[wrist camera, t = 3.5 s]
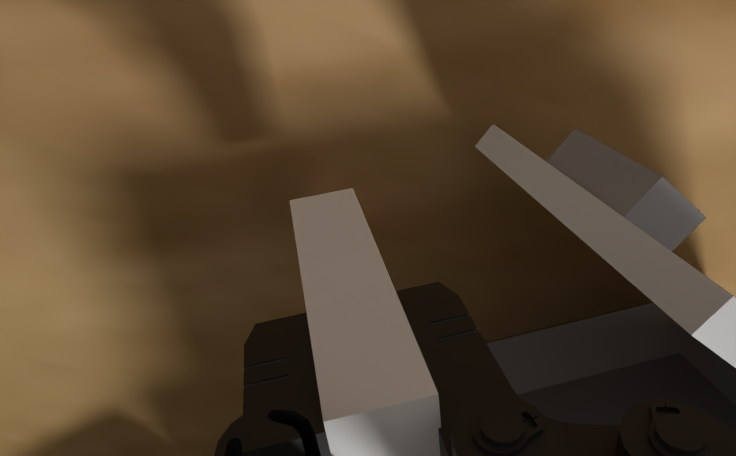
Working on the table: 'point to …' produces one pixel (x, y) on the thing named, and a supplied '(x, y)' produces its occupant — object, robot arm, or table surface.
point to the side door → (624, 225)
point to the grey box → (616, 368)
